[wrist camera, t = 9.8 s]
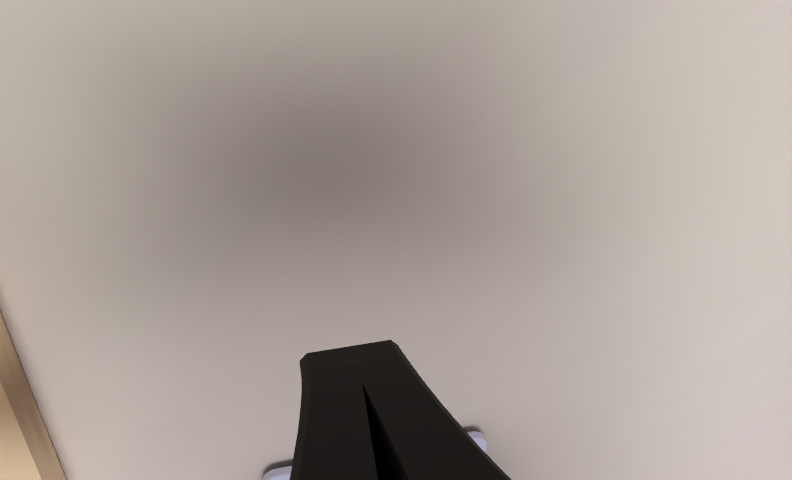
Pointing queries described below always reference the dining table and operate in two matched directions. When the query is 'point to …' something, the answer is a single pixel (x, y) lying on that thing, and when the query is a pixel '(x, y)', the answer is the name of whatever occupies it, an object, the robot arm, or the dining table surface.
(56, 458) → the oak board
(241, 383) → the dining table surface
